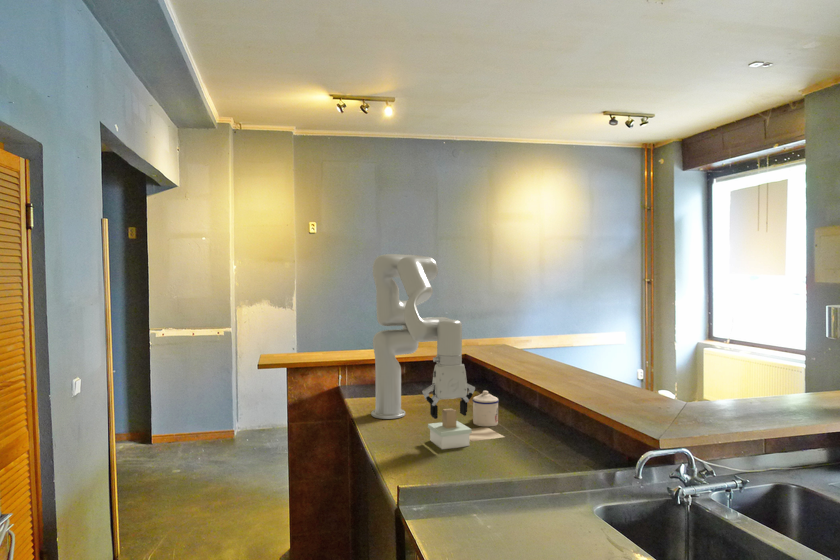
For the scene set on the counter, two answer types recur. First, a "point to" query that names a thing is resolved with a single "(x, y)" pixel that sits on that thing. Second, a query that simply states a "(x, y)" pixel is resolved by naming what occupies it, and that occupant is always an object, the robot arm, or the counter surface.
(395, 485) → the counter surface
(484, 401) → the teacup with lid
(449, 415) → the lid
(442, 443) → the white open square tray
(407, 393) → the counter surface
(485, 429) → the mat
